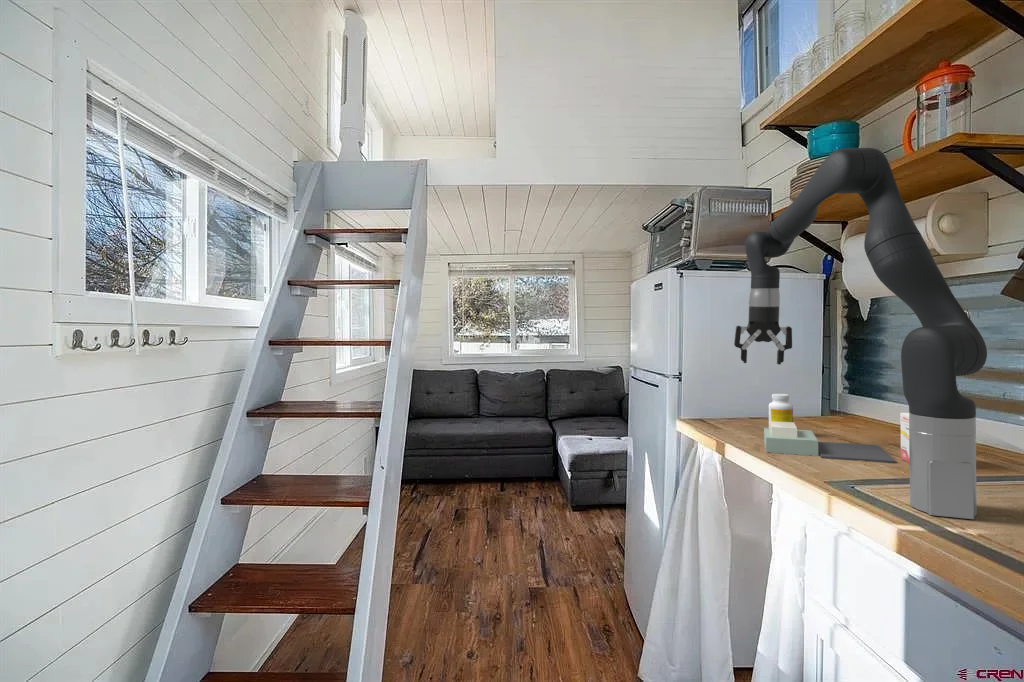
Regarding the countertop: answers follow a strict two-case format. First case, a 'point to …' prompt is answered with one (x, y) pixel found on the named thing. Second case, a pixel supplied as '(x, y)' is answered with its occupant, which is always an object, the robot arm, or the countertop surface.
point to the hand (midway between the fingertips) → (761, 363)
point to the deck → (792, 443)
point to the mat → (853, 452)
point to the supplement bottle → (780, 409)
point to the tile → (783, 429)
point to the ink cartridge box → (904, 436)
